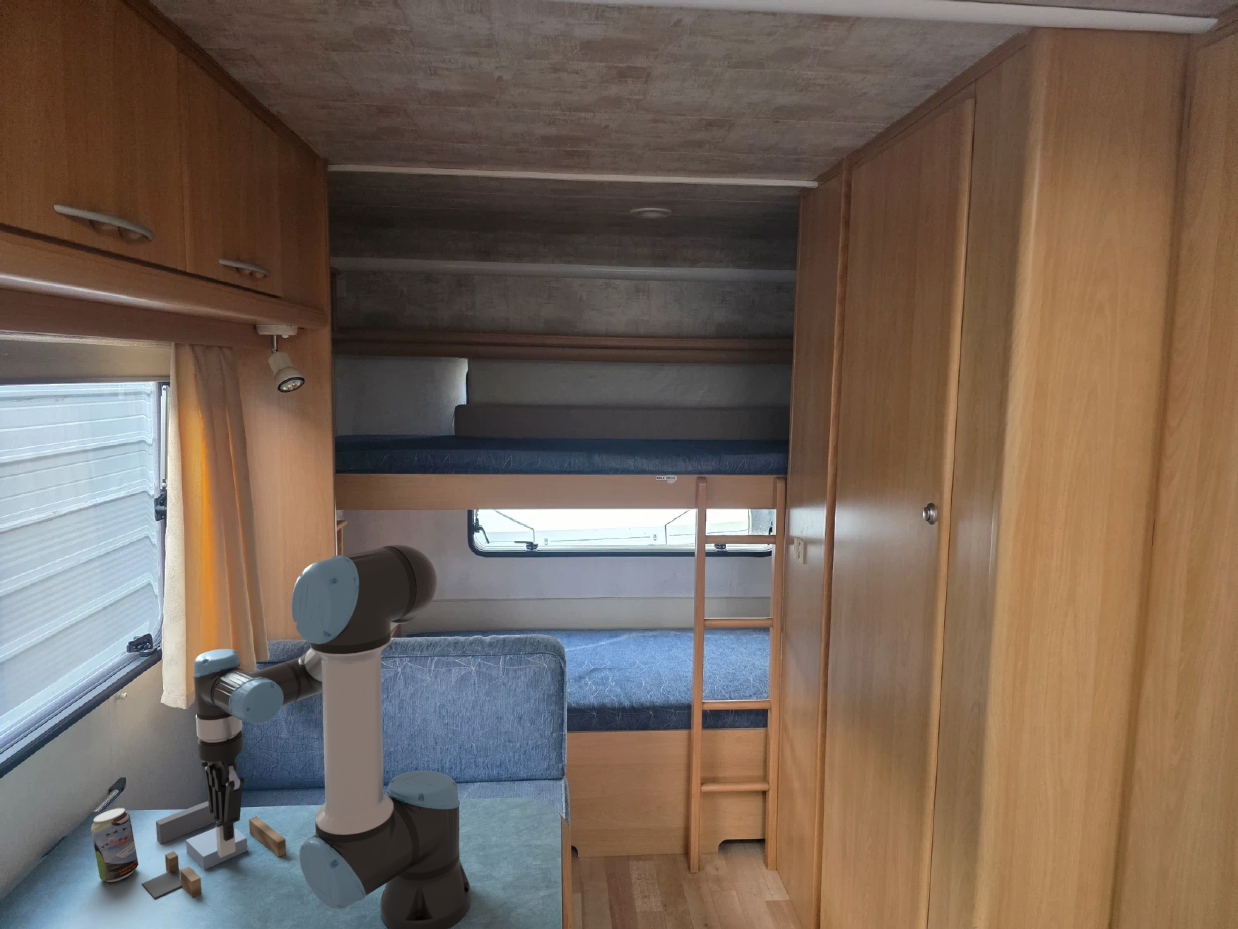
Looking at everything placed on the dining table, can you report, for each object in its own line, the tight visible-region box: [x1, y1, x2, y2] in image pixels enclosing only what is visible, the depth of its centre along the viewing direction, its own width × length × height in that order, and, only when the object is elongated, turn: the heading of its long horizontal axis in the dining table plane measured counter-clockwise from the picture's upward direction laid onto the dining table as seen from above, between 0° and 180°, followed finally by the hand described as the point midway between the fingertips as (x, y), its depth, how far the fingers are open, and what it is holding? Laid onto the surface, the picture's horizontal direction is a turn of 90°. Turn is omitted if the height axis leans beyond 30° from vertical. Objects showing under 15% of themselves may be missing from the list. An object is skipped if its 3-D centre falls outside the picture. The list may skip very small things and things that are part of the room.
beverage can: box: [90, 807, 139, 883], centre depth 144 cm, size 6×7×12 cm
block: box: [185, 826, 248, 871], centre depth 152 cm, size 8×8×3 cm
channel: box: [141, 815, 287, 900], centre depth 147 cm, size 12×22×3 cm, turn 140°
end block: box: [155, 800, 217, 845], centre depth 159 cm, size 2×12×4 cm, turn 139°
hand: (226, 853), depth 149 cm, fingers closed
